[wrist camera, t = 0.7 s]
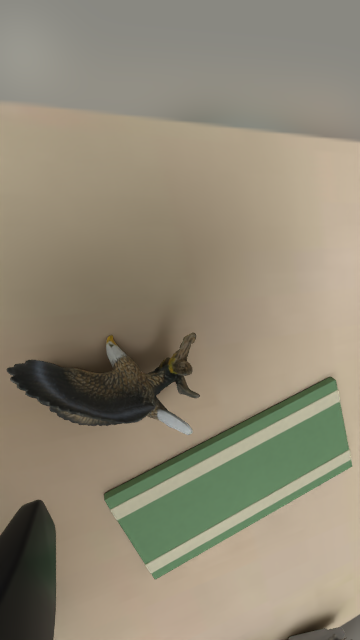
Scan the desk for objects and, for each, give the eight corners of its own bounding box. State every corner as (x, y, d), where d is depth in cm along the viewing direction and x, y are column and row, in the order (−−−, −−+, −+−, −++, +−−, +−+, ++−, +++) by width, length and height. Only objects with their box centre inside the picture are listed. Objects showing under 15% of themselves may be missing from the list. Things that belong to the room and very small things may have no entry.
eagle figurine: (164, 283, 18) (-4, 324, 15) (229, 381, 14) (20, 468, 11) (156, 356, 24) (33, 399, 20) (201, 441, 20) (57, 511, 17)
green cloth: (153, 572, 26) (155, 580, 26) (103, 493, 23) (104, 501, 22) (347, 461, 29) (352, 466, 28) (330, 376, 25) (336, 380, 25)
